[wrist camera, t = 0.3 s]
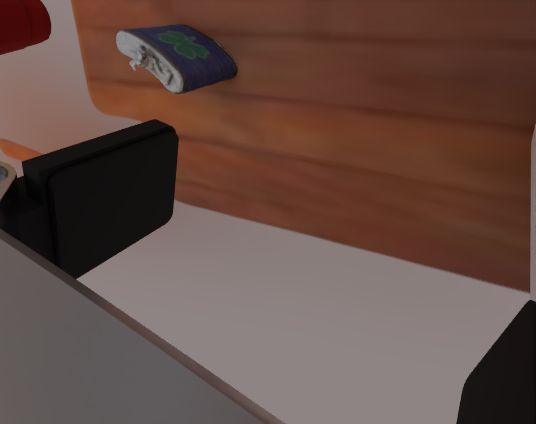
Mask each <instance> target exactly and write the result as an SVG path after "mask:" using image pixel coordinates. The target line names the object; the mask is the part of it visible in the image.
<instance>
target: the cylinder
mask: <svg viewBox="0 0 536 424" xmlns="http://www.w3.org/2000/svg"><path fill="white" fill-rule="evenodd" d="M530 300H533V301H535V302H536V124H535V128H534V133H533V137H532V142H531V275H530Z"/></svg>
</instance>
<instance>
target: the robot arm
mask: <svg viewBox="0 0 536 424" xmlns="http://www.w3.org/2000/svg"><path fill="white" fill-rule="evenodd" d="M178 143H179V138H178V136H177V134H176V131H175V129H174V128H173V127H172V126H170V125H168V124H165V123H163V122H161V121H159V120H156V119H154V120H150V121H147V122H144V123H141V124H137V125H135V126H131V127H128V128H125V129H122V130H119V131H116V132H113V133H110V134H106V135H103V136H100V137H97V138H94V139H91V140H88V141H85V142H81V143H79V144H75V145H72V146H69V147H66V148H63V149H60V150H57V151H53V152H50V153H47V154H44V155H41V156H38V157H35V158H32V159H29V160H25V161H22V167H23V173H24V176H22V177H19V178H17V174H16V171H15V169H14V168H13V167H12V166H11V165H9V164H7V163H4V162H1V161H0V424H285V423H283V422H282V421H281V420H279V419H278V418H276V417H275V416H273V415H272V414H270V413H269V412H268V411H266V410H264V409H263V408H262V407H260V406H259V405H257V404H256V403H255V402H253V401H252V400H250V399H249V398H247V397H246V396H244V395H243V394H242V393H240V392H239V391H237V390H236V389H234V388H233V387H232V386H230V385H229V384H227V383H226V382H224V381H223V380H221V379H220V378H219V377H217V376H216V375H214V374H213V373H211V372H210V371H209V370H207V369H205V368H204V367H203V366H201V365H200V364H198V363H197V362H196V361H194V360H192V359H191V358H190V357H188V356H187V355H185V354H184V353H182V352H181V351H180V350H178V349H177V348H175V347H174V346H172V345H171V344H169V343H168V342H166V341H165V340H164V339H162V338H161V337H159V336H158V335H156V334H155V333H153V332H152V331H151V330H149V329H148V328H146V327H145V326H143V325H142V324H140V323H139V322H137V321H136V320H134V319H133V318H131V317H130V316H129V315H127V314H126V313H124V312H123V311H121V310H120V309H118V308H116V306H114V305H112V304H111V303H109V302H108V301H107V300H105V299H104V298H102V297H101V296H99V295H98V294H97V293H95V292H94V291H92V290H91V289H89V288H88V287H86V286H85V285H83V284H82V283H80V282H79V281H77V280H76V279H77V278H79V277H81V276H82V275H84V274H85V273H87V272H89V271H90V270H92V269H93V268H95V267H97V266H98V265H100V264H102V263H103V262H105V261H106V260H108V259H110V258H111V257H113V256H114V255H116V254H117V253H119V252H121V251H123V250H124V249H126V248H127V247H129V246H131V245H132V244H134V243H136V242H137V241H139V240H140V239H142V238H144V237H145V236H147V235H149V234H150V233H152V232H153V231H155V230H156V229H158V228H160V227H161V226H163V225H165V224H166V223H167V222H168V221H169V220H170V219H171V217H172V214H173V204H174V193H175V180H176V168H177V155H178ZM456 424H536V302H535V301H533V300H529V301H528V302H527V303H526V304H525V305H524V306H523V308H522V309H521V310H520V311H519V313H518V314H517V315H516V317H515V318H514V319H513V320H512V322H511V323H510V324H509V326H508V327H507V328H506V329H505V330H504V332H503V333H502V334H501V336H500V337H499V338H498V340H497V341H496V342H495V343H494V344H493V346H492V347H491V349H489V351H488V352H487V353H486V355H485V356H484V357H483V358H482V360H481V361H480V362H479V363H478V365H477V366H476V367H475V369H474V370H473V371H472V372H471V374H470V375H469V377H468V378H467V380H466V382H465V384H464V387H463V391H462V395H461V401H460V407H459V412H458V418H457V423H456Z"/></svg>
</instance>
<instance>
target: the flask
mask: <svg viewBox="0 0 536 424" xmlns="http://www.w3.org/2000/svg"><path fill="white" fill-rule="evenodd" d="M116 43H117V46H118V50H119V51H120V52H121V53H123V54H124V55H125V56H128V57H130V58H131V59H133V61H130V65H131V66H132V67H133V70H136V68H135V66H136V65H138V66H140V65H141V66H142V67H143V68H145V69H146V70H147V69H148V70H149V71H150V72H152V73H153V74H154V75H155V76H156V77H157V78H158V79H159V80H160V81H161V82H162V83H163V85H164V86H165V87H166V89H168V90H169V91H170V92H172V93H176V94H182V93H186V92H188V91H192V90H195V89H198V88H201V87H204V86H209V85H213V84H215V83H217V82H220V81H224V80H228V79H232V78H234V77H235V75H236V73H237V71H238V66H237V64H236V61H235V60H234V59H233V57H232V56H231V55H230V54H229V53H228V52H227V51H226V50H225V49H224V48H223V47H221V46H220V44H218V43H217V42H215V41H213V39H211V38H208V37H207V36H206V35H204V34H202V33H200V32H198V31H197V30H196V29H193V28H191V27H189V26H186V25H180V24H179V25H169V26H162V27H151V28H138V29H124V30H120V31H119V32H118V34H117V36H116Z"/></svg>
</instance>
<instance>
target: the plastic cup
mask: <svg viewBox="0 0 536 424" xmlns="http://www.w3.org/2000/svg"><path fill="white" fill-rule="evenodd" d="M50 34H51V21H50V16H49V14H48V11H47V9H46V7H45V6H44V4H43V3H42V2H41V1H40V0H0V55H2V54H5V53H9V52H13V51H16V50H20V49H24V48H25V47H27V46H31V45H35V44H38V43H41V42H43V41H45V40H47V39H48V38H49V36H50Z"/></svg>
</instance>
